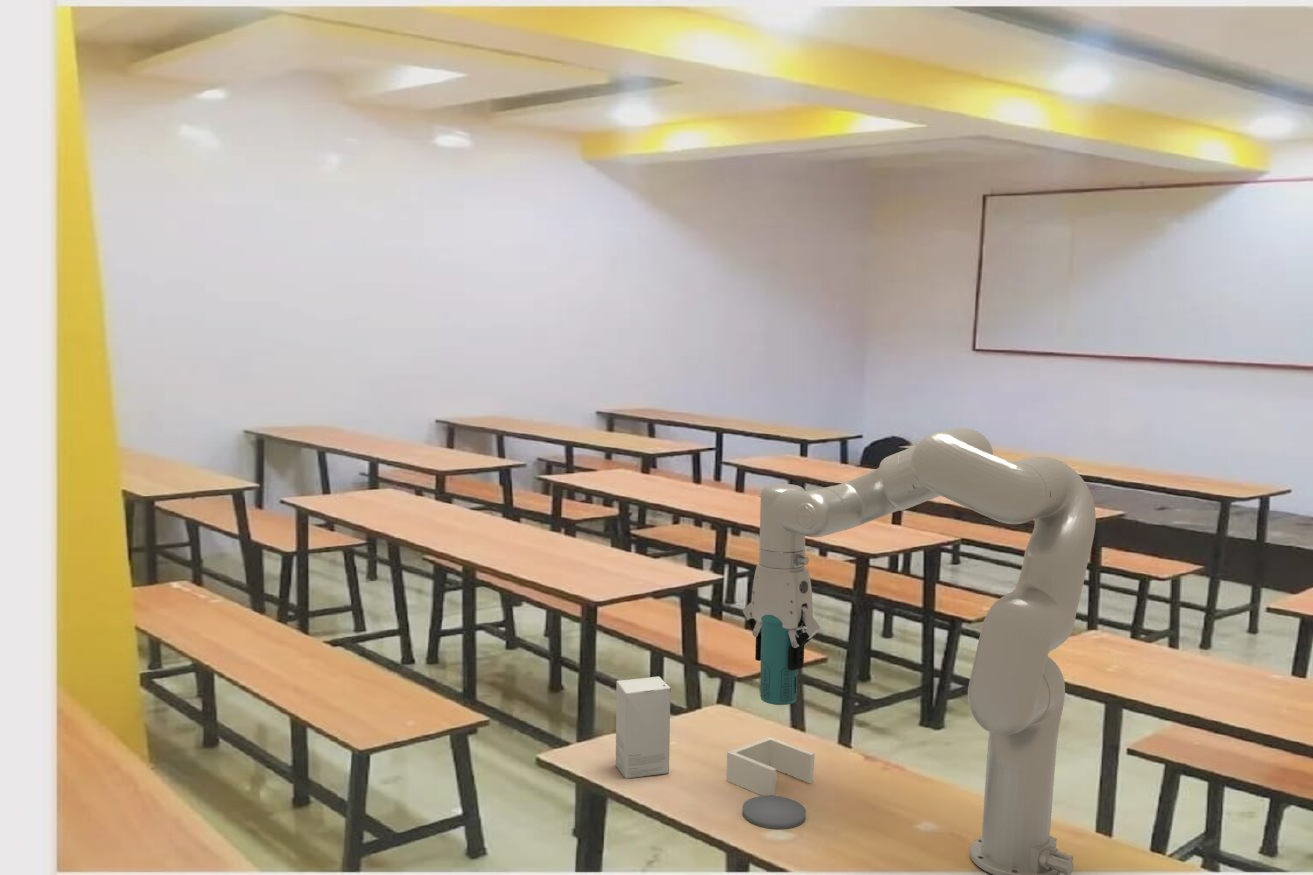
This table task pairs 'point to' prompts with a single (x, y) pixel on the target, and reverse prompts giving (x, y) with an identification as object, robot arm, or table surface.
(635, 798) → the table surface
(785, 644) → the beverage bottle
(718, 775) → the table surface
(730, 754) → the white u-shaped bracket
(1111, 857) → the table surface
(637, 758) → the skincare box
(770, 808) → the pad
